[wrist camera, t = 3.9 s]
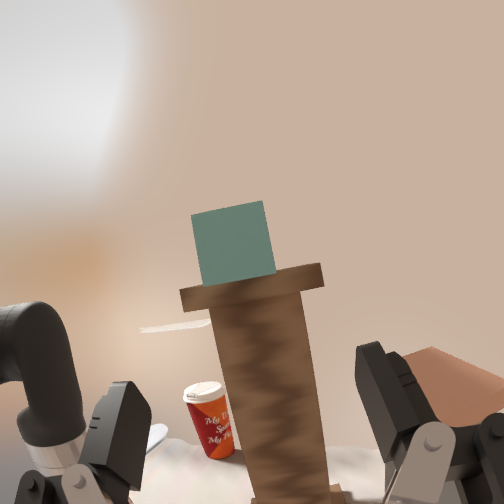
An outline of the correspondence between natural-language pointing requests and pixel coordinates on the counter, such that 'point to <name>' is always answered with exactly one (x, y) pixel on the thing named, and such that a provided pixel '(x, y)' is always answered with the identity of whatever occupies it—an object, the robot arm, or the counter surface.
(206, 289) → the stand
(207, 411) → the paper cup
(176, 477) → the counter surface
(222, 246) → the bar
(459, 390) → the ledge
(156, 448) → the counter surface
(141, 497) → the counter surface
